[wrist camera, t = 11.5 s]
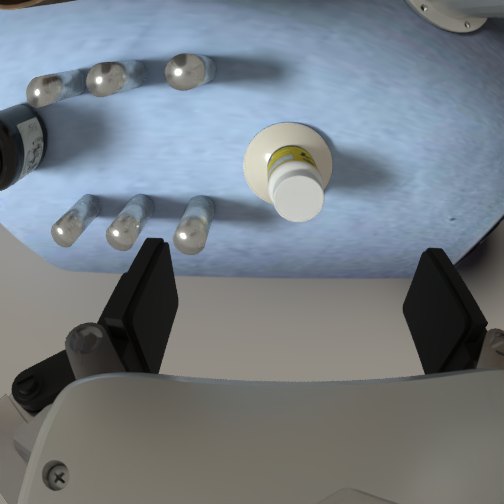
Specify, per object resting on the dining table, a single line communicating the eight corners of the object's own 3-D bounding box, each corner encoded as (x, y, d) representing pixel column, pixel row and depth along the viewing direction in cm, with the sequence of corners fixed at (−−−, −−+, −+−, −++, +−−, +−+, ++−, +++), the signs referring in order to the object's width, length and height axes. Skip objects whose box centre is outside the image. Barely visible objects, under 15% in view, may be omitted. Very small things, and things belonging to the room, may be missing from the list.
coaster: (336, 126, 30) (337, 128, 29) (324, 206, 35) (326, 209, 34) (245, 119, 30) (245, 120, 29) (242, 201, 35) (242, 204, 34)
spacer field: (216, 55, 26) (203, 52, 20) (215, 220, 36) (205, 255, 30) (64, 72, 26) (25, 80, 20) (82, 216, 36) (55, 246, 30)
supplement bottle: (322, 174, 32) (339, 210, 25) (282, 195, 33) (288, 237, 26) (299, 134, 30) (311, 160, 22) (257, 158, 31) (256, 190, 24)
